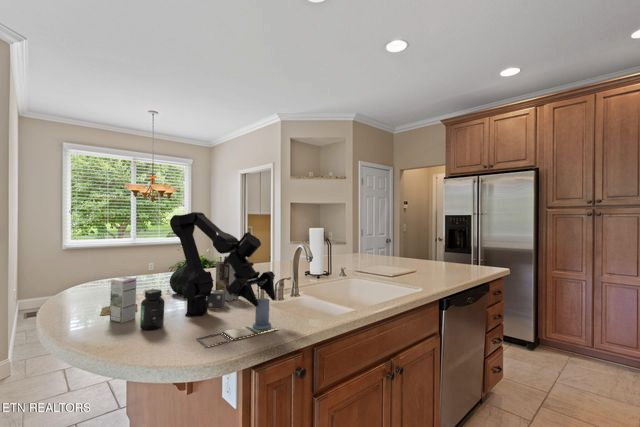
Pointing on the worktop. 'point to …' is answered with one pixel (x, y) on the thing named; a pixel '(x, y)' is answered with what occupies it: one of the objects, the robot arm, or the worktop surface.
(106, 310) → the cookie
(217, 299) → the die
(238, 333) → the game board
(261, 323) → the blue flanged cylinder
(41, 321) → the worktop surface
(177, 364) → the worktop surface
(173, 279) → the squash
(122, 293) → the syrup box
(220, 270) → the coffee box
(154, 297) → the supplement bottle
